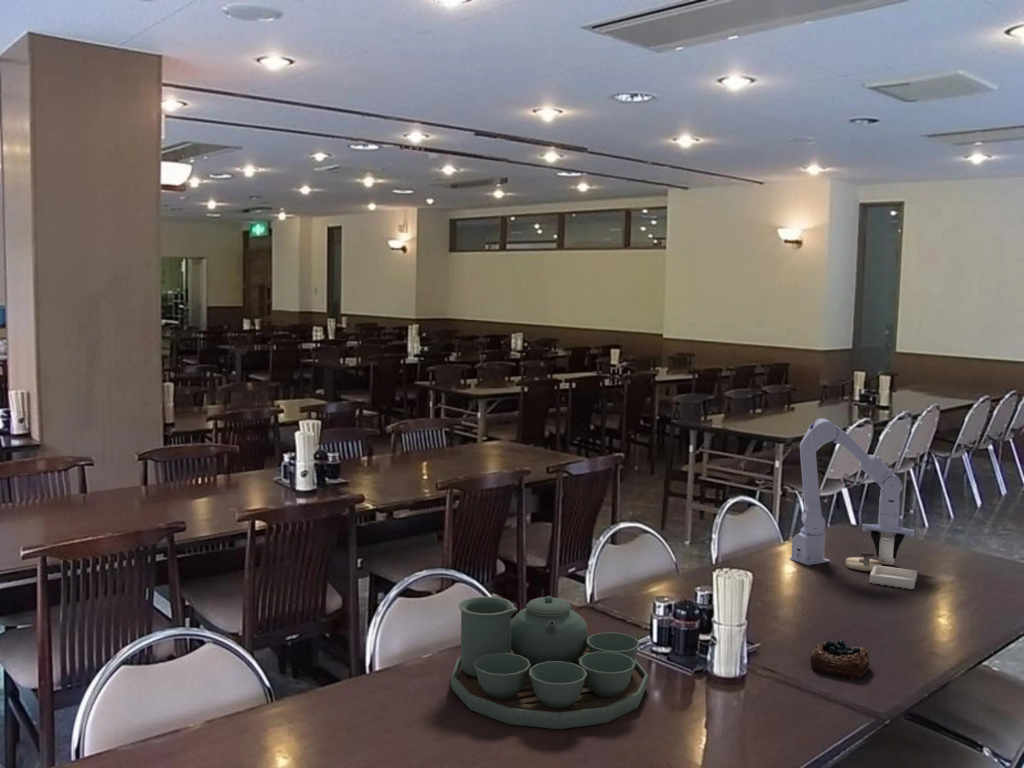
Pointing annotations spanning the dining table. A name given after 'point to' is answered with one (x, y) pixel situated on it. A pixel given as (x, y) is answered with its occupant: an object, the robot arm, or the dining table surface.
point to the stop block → (886, 550)
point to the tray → (893, 577)
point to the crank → (862, 562)
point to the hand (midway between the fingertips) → (886, 556)
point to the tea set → (543, 665)
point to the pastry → (840, 660)
